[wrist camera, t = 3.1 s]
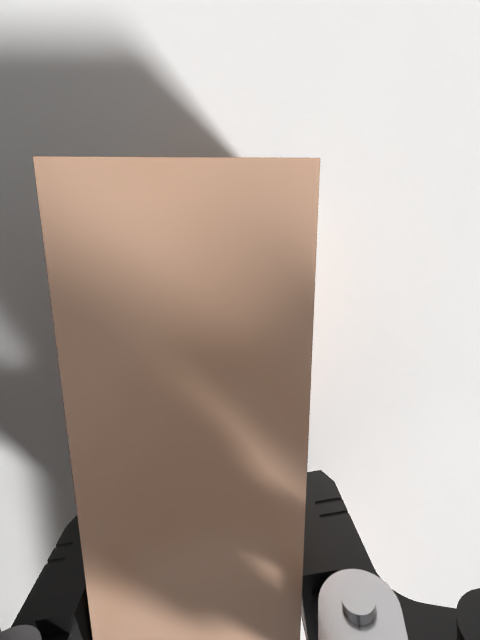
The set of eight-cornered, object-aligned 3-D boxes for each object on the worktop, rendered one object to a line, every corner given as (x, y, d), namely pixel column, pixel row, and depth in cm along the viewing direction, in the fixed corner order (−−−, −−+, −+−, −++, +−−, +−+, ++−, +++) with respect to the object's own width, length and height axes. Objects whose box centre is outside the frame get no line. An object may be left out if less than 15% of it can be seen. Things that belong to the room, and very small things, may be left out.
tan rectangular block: (128, 198, 9) (33, 156, 4) (272, 198, 9) (320, 157, 5) (162, 681, 12) (128, 927, 8) (265, 676, 12) (288, 913, 8)
